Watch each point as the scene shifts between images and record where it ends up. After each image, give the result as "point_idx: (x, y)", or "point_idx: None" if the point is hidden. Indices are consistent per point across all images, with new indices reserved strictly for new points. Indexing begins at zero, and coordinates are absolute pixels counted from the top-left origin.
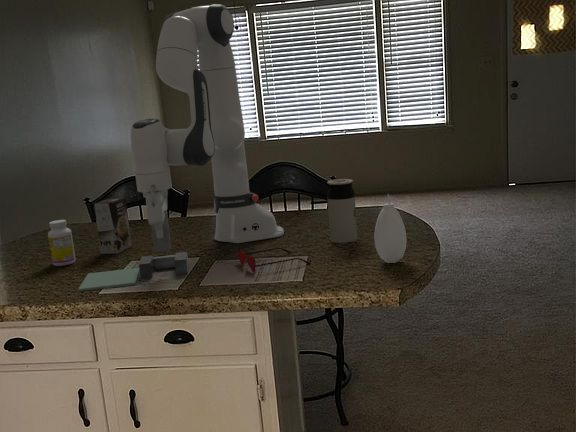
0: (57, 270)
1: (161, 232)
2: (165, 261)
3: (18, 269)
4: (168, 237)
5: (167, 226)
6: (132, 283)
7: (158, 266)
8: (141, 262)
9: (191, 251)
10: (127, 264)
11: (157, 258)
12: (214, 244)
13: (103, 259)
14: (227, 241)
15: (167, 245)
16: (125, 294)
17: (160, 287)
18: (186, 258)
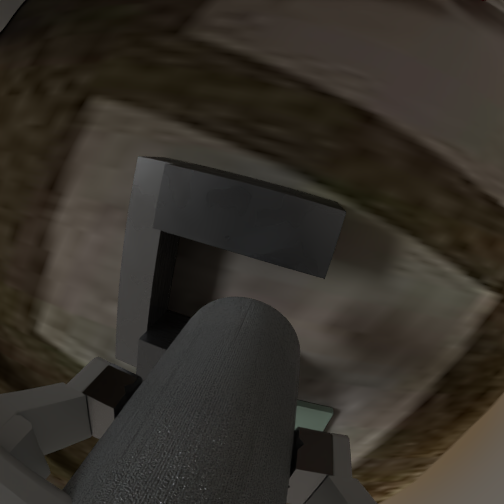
0: (72, 462)
1: (343, 474)
2: (162, 274)
3: (53, 479)
4: (275, 368)
5: (251, 444)
6: (329, 417)
7: (165, 298)
8: None
9: (19, 126)
10: (66, 355)
11: (148, 313)
12: (5, 50)
13: (14, 375)
14: (15, 10)
15: (293, 349)
16: (406, 435)
17: (435, 344)
18: (283, 192)
